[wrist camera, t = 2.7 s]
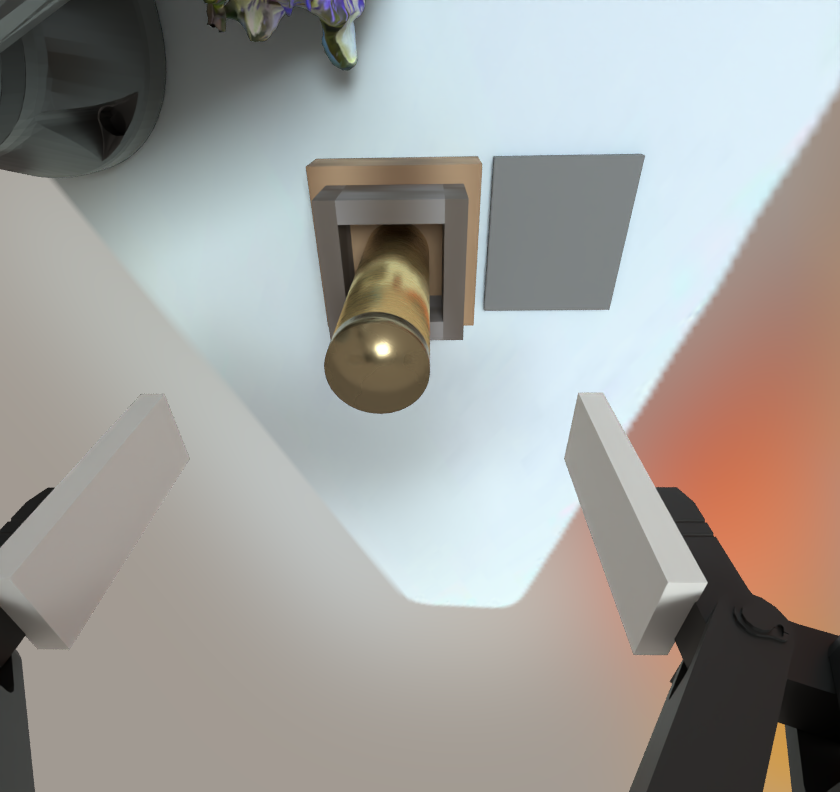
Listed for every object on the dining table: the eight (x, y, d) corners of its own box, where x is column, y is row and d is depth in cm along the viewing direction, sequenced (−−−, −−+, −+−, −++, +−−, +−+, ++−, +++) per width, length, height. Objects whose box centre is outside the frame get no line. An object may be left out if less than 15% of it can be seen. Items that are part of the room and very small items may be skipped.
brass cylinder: (368, 284, 30) (331, 413, 19) (362, 220, 28) (317, 324, 17) (429, 283, 30) (429, 413, 19) (429, 220, 28) (429, 323, 16)
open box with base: (335, 308, 35) (316, 355, 29) (316, 158, 29) (288, 179, 23) (470, 307, 34) (478, 354, 29) (477, 156, 29) (489, 177, 23)
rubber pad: (483, 307, 34) (484, 310, 34) (493, 156, 29) (494, 157, 28) (606, 306, 34) (609, 309, 34) (641, 154, 28) (645, 155, 28)
